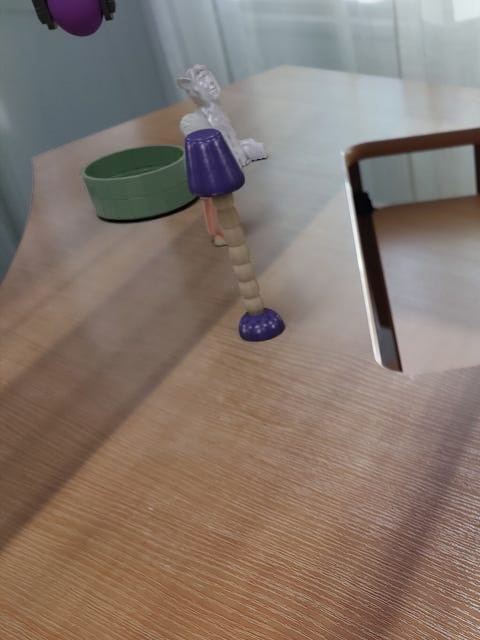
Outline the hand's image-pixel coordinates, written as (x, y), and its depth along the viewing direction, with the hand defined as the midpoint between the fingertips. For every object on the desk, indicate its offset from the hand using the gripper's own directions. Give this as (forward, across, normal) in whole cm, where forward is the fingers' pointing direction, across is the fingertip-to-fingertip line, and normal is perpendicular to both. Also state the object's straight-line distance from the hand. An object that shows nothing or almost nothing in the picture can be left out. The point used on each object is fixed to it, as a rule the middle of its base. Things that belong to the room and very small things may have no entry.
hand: (81, 23), depth 95 cm
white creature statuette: (+20, -10, -13) cm, 26 cm away
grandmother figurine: (+20, -10, +15) cm, 27 cm away
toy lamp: (+20, -13, +41) cm, 47 cm away
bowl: (+20, 0, -3) cm, 20 cm away
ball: (-2, 0, 0) cm, 2 cm away
